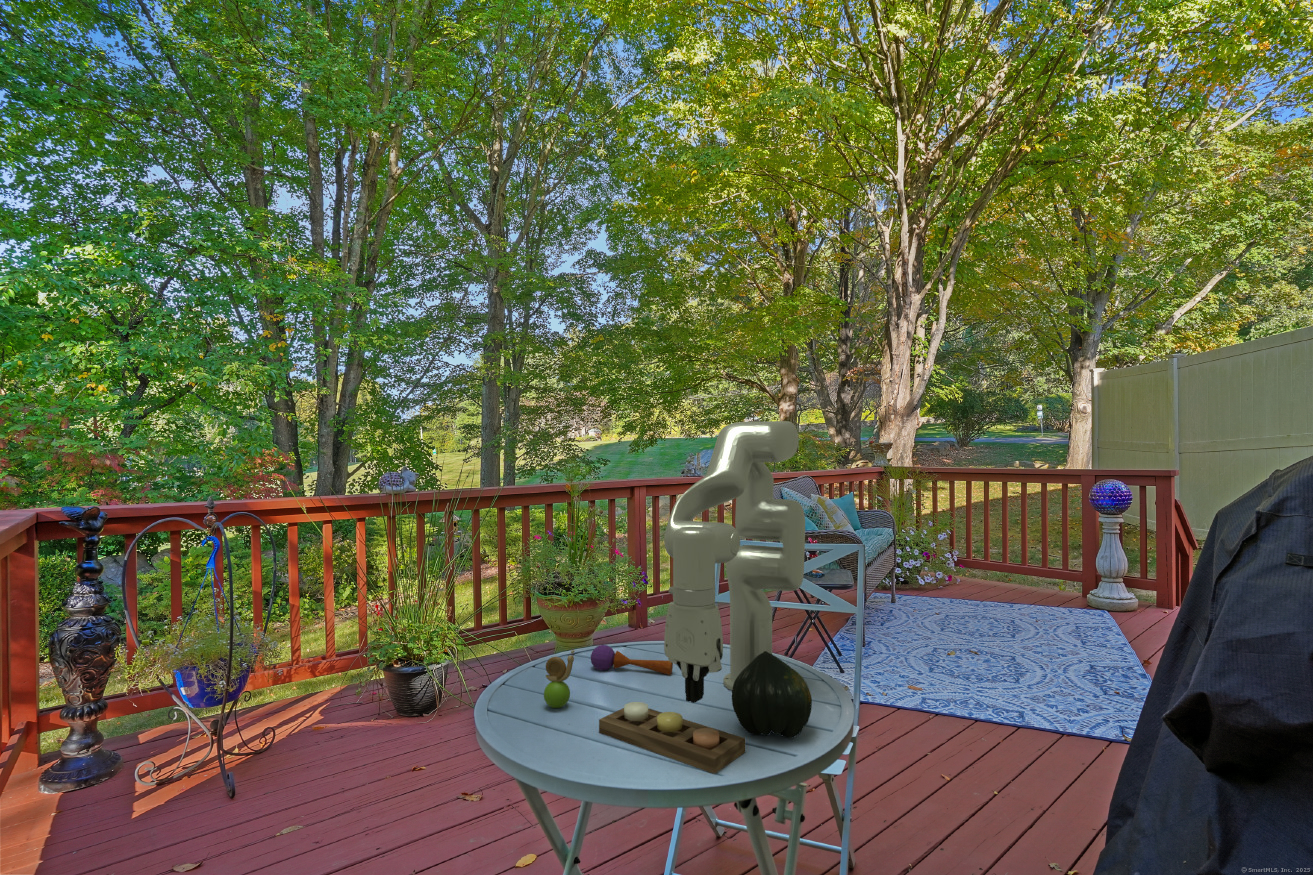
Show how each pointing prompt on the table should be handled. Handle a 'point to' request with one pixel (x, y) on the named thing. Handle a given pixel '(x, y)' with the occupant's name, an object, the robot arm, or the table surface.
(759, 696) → the squash
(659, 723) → the mustard button
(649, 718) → the button panel
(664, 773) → the table surface
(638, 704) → the cream button
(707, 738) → the terracotta button
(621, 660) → the purple and brown maraca
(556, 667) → the snail figurine
